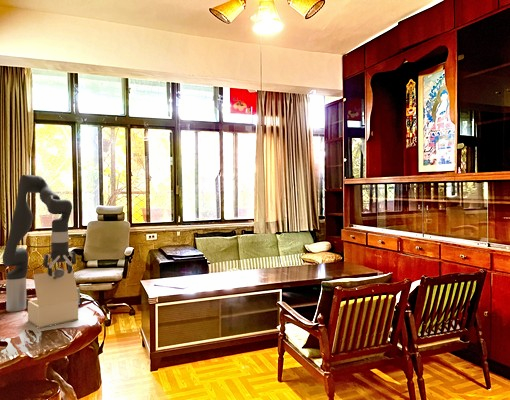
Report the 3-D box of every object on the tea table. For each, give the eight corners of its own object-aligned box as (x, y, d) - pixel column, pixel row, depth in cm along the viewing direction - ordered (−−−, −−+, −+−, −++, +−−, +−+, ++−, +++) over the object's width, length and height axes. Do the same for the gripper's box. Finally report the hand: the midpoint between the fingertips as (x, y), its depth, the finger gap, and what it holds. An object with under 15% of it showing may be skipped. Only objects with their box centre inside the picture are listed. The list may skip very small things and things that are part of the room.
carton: (27, 320, 192) (27, 300, 192) (65, 313, 205) (65, 294, 205) (39, 328, 181) (39, 307, 181) (78, 319, 194) (78, 299, 194)
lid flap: (33, 274, 186) (38, 268, 180) (72, 269, 199) (79, 263, 194) (38, 307, 181) (44, 301, 175) (78, 299, 194) (85, 294, 189)
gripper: (72, 239, 194) (72, 271, 195) (41, 241, 184) (41, 275, 184) (78, 240, 189) (78, 273, 189) (46, 242, 179) (46, 278, 179)
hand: (59, 274), depth 187 cm, fingers open, 8 cm apart
